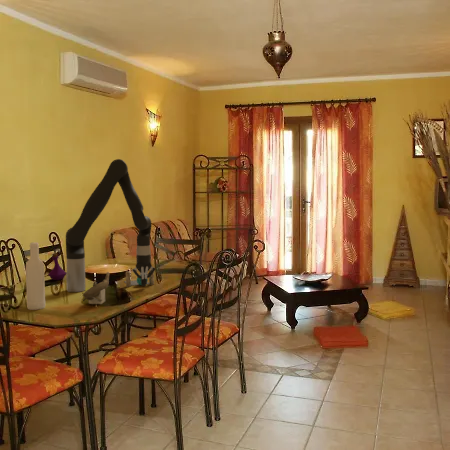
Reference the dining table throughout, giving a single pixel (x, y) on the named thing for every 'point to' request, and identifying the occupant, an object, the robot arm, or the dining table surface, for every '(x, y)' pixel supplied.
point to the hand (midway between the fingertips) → (143, 285)
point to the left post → (128, 279)
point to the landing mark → (134, 282)
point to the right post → (151, 279)
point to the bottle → (35, 279)
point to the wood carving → (97, 291)
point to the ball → (139, 281)
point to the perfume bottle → (56, 268)
